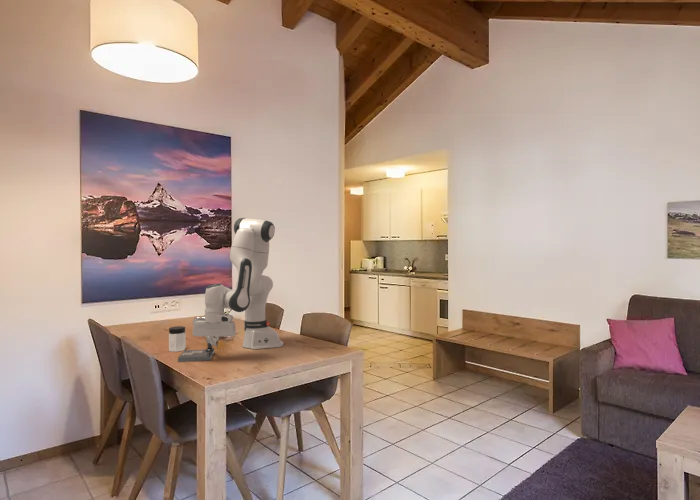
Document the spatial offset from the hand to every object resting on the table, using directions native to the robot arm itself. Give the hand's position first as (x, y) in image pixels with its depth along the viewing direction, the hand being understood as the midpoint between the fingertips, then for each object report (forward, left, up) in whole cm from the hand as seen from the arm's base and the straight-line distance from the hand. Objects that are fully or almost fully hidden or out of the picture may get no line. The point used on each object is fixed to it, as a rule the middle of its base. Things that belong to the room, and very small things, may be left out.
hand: (214, 345), depth 216 cm
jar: (+22, -25, -7) cm, 34 cm away
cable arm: (+1, -6, -2) cm, 6 cm away
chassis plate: (+9, -7, -7) cm, 14 cm away
